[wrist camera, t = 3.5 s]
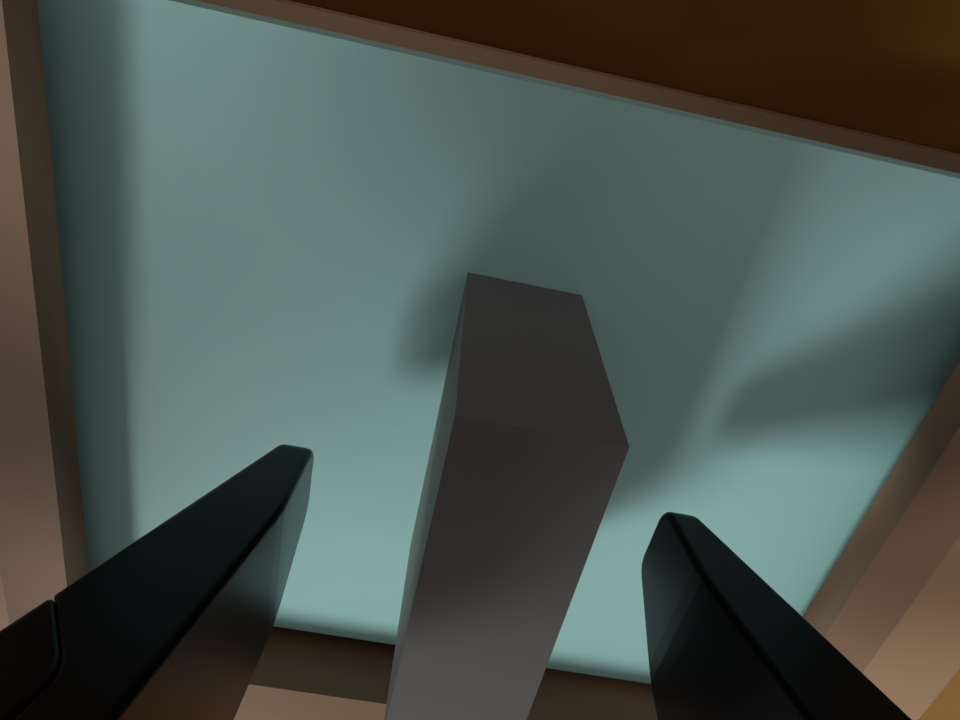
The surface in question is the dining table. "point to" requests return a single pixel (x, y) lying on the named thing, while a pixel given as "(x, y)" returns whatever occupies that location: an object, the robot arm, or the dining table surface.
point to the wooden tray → (368, 665)
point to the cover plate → (349, 281)
